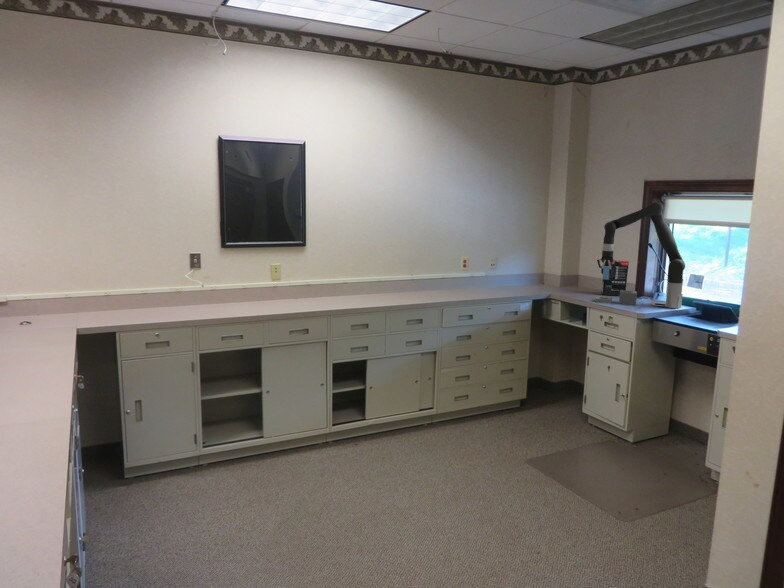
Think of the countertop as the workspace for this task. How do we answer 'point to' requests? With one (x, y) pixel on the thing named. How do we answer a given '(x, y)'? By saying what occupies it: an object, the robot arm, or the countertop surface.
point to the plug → (606, 272)
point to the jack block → (621, 298)
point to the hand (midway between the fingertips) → (605, 273)
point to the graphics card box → (616, 279)
